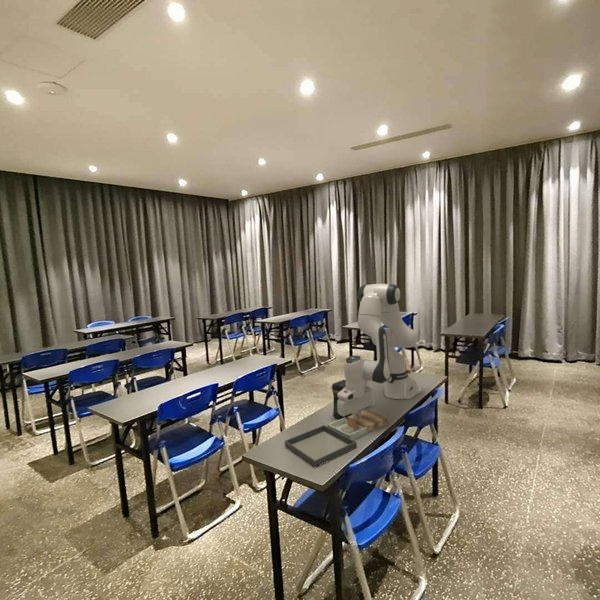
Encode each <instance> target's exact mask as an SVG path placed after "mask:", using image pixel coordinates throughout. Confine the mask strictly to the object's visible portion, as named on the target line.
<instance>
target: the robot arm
mask: <svg viewBox="0 0 600 600" xmlns="http://www.w3.org/2000/svg"><path fill="white" fill-rule="evenodd" d="M357 298H358V299H357V300H358V301H359V302H360V303H359V304H360V305H359V309H358V315H357V326H358V328H359V330H360V331H361V332H363V334H365V335H367V336H368V337H371V341H372V343H373V345H374V346H376V359H377V360H373V359H372V360H371V359H366V358H362V357H361V356H360V355H350V356H348V357H346V358H345V359H344V367H343V370H344V371H343V372H344V373H343V374H344V378H345V379H344V380H346V383H345V387H344V388H343V389H342V390H341V391H340V392H339V393H338V394H337V397H338V398H339V399H338V401H337V410H338V414H339V415H341V416H346V415H349V414H352V415H353V419H354V420H358V419H360V415H361V412H362V411H363V410H365V409H366V408H369V407H370V406H373V405H374V396H373V392H372V387H370V386H369V385H367V387H365V388H364V382H363V380H364V379H365V380H367V381H370V382H374V383H377V384H384V389H383V392H384V393H383V394H384V395H383V396H385V398H386V397H387V398H388V399H394V400H404V399H405V400H411V399H413V398H414V397H416V396H417V395H418V394H420V393H421V392H422V391H423V390H422V389H421V388H420V387H418V386H417V385H418V384H417V381H416V380H415V379H413V378H412V377H410V376H409V375H410V374H411V373H412V371H411V369H406V357H404V355H403V354H402V353H400V352H399V351H397V350H396V349H397V348H398V349H400V348H401V349H409V348H414V347H415V346H416V344H417V342H418V335H417V333H416V331H415V330H414V329H412V328H410V327H409V326H408V325H407V324H406V323H405V322H404V320H403V319H402V316H401V315H402V314H401V312H400V306H399V301H400V300H401V289H400V288H399V286H398V285H396V284H393V283H390V284H388V283H373V284H368V283H367V284H362V285H361V286H360V287H359V289H358V291H357ZM383 325H384V326H385V327H383ZM356 413H357V415H356Z"/></svg>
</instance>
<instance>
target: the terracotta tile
mask: <svg viewBox="0 0 600 600" xmlns="http://www.w3.org/2000/svg"><path fill="white" fill-rule="evenodd" d="M346 420H347V419H346ZM347 423H348V425H349V426H351V427H353V429H354V431H355V430H357V424H356V421H354V420H352V419H349V420H347Z"/></svg>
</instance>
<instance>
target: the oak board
mask: <svg viewBox="0 0 600 600" xmlns="http://www.w3.org/2000/svg"><path fill="white" fill-rule="evenodd" d="M356 415H357V412H356ZM346 418H347V419H346V420H349V419H352V420H354V419H353V415H351V416H348V417H346ZM354 421H356V424H357V425H359V426H361V427H364V428H365V427H367V434H368V433H370V432H373V431H375V430H378V429H379V428H381V427H384V426H386V425H387V424H388V422H387V417H385V416H382V415H380V414H378V413H375V412H373V411H370V410H368V409H362V412H361V415H360V419H358V420H354Z"/></svg>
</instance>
